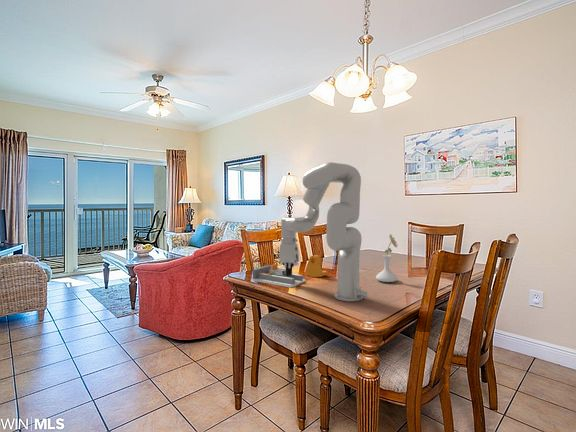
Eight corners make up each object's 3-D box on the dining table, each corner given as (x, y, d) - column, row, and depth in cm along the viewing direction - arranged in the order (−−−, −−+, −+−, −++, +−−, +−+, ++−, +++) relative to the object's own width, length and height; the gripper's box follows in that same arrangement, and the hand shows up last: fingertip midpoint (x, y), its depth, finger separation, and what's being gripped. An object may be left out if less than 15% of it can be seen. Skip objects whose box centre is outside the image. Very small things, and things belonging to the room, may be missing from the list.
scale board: (305, 281, 168) (305, 270, 167) (290, 287, 156) (290, 275, 156) (268, 275, 182) (268, 265, 182) (252, 280, 170) (252, 269, 170)
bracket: (327, 275, 180) (327, 255, 180) (320, 278, 175) (320, 257, 174) (312, 273, 187) (312, 253, 187) (305, 275, 182) (305, 255, 181)
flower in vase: (390, 285, 159) (390, 236, 158) (371, 280, 168) (371, 234, 167) (403, 280, 167) (404, 234, 166) (385, 276, 176) (385, 232, 175)
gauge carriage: (291, 277, 171) (290, 264, 171) (279, 281, 162) (279, 267, 162) (279, 275, 176) (279, 262, 175) (267, 279, 167) (266, 266, 166)
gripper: (304, 241, 163) (304, 275, 164) (281, 239, 171) (281, 272, 172) (296, 242, 157) (296, 278, 158) (272, 240, 165) (273, 275, 166)
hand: (288, 275), depth 165 cm, fingers closed
